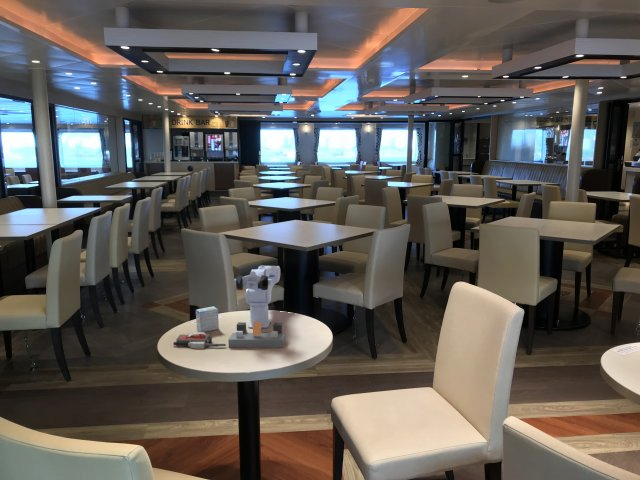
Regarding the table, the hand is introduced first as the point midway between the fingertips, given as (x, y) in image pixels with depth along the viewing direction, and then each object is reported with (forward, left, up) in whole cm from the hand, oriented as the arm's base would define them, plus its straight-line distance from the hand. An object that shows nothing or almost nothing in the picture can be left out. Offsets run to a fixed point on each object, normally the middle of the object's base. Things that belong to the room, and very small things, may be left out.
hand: (248, 285), depth 192 cm
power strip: (+2, +3, -22) cm, 22 cm away
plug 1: (-6, -4, -22) cm, 23 cm away
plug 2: (-6, +10, -22) cm, 25 cm away
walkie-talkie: (+3, -18, -22) cm, 29 cm away
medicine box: (-13, -20, -22) cm, 32 cm away
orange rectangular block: (+3, +3, -19) cm, 19 cm away
